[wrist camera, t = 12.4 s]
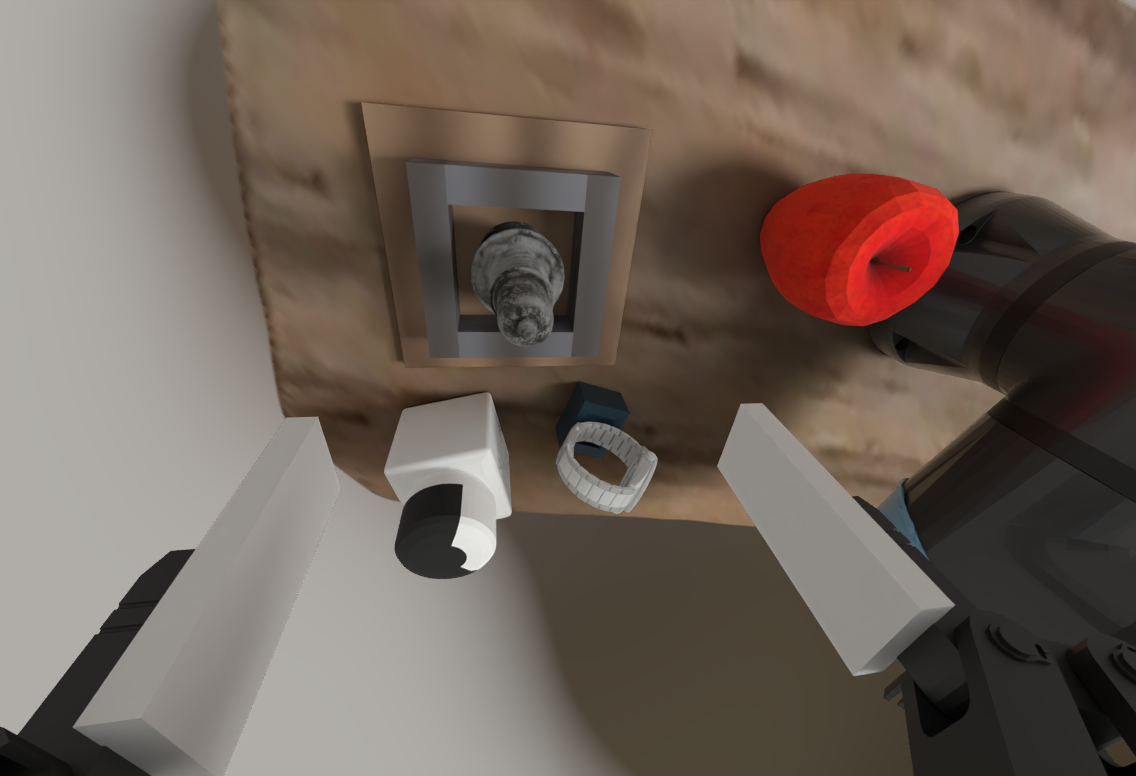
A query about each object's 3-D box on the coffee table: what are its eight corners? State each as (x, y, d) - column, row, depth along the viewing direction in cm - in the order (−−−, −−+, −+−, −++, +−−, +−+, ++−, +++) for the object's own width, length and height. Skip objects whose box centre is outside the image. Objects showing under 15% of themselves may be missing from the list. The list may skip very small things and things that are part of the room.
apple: (736, 297, 34) (823, 361, 25) (729, 188, 29) (834, 219, 20) (838, 261, 34) (964, 312, 25) (849, 144, 29) (1011, 156, 20)
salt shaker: (531, 199, 26) (555, 247, 16) (571, 276, 30) (610, 355, 20) (455, 244, 27) (434, 315, 17) (502, 314, 30) (506, 408, 20)
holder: (647, 129, 26) (670, 130, 23) (611, 359, 35) (624, 384, 32) (365, 103, 23) (344, 100, 20) (407, 361, 32) (397, 388, 29)
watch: (612, 441, 41) (647, 532, 32) (538, 423, 38) (553, 518, 29) (638, 397, 38) (684, 483, 29) (560, 375, 35) (584, 462, 26)
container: (430, 470, 39) (407, 602, 28) (401, 407, 35) (360, 535, 24) (509, 453, 39) (515, 577, 29) (490, 389, 35) (489, 507, 24)
